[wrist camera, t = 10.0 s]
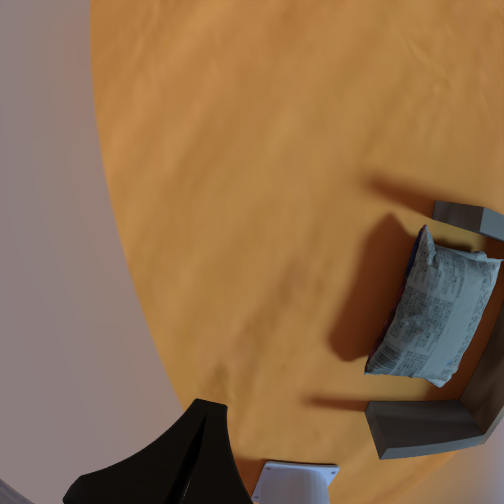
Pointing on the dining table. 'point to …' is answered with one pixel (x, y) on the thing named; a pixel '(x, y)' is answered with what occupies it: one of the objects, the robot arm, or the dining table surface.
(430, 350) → the packaged food
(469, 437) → the grey u-shaped bracket
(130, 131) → the dining table surface
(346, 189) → the dining table surface
